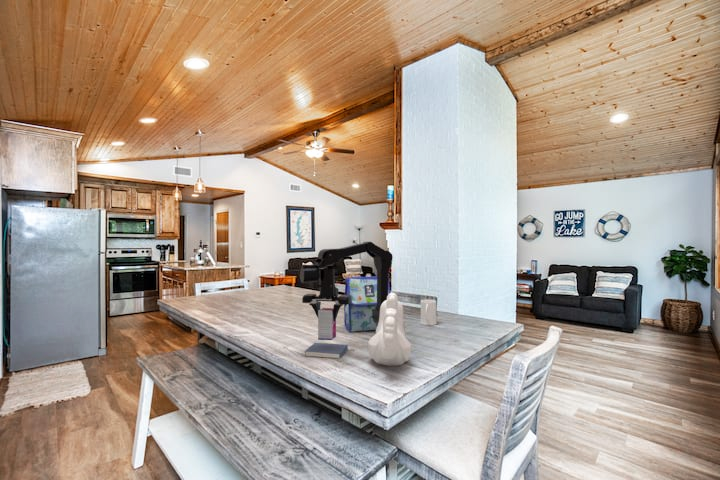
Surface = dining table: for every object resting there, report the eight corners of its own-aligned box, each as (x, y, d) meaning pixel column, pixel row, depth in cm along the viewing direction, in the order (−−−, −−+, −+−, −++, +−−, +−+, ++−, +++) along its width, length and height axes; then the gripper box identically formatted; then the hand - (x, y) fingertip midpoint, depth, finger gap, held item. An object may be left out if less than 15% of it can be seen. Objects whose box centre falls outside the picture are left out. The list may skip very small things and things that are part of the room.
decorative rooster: (375, 352, 137) (375, 289, 137) (415, 356, 132) (415, 291, 132) (354, 375, 113) (354, 299, 113) (402, 381, 108) (402, 302, 108)
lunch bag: (349, 334, 162) (349, 278, 162) (342, 325, 178) (342, 275, 178) (394, 331, 167) (394, 277, 167) (383, 323, 184) (383, 274, 184)
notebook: (347, 349, 139) (347, 344, 139) (340, 359, 129) (340, 353, 129) (314, 347, 143) (314, 342, 143) (304, 356, 132) (304, 351, 132)
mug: (433, 327, 175) (433, 303, 175) (416, 325, 178) (416, 302, 178) (438, 322, 186) (438, 300, 186) (422, 320, 189) (422, 299, 189)
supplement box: (332, 340, 132) (331, 310, 132) (317, 340, 133) (317, 310, 134) (336, 336, 138) (336, 307, 138) (322, 336, 139) (322, 307, 140)
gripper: (354, 279, 141) (355, 317, 141) (311, 278, 146) (312, 315, 146) (347, 282, 131) (348, 324, 131) (301, 281, 135) (301, 321, 135)
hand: (327, 320), depth 136 cm, fingers closed on supplement box, 6 cm apart
